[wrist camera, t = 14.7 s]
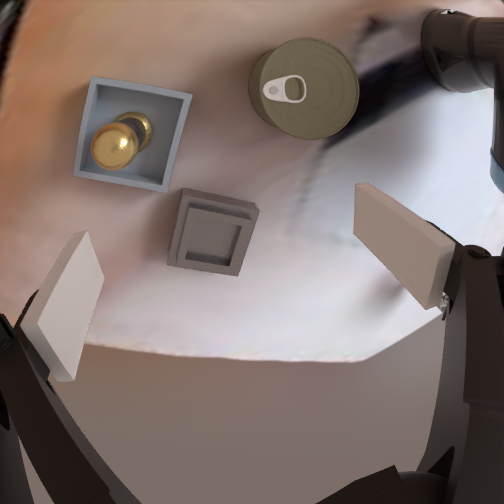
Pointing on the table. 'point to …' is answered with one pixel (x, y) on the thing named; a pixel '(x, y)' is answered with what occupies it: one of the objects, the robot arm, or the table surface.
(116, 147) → the strut
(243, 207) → the recessed square block
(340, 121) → the can
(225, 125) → the table surface
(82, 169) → the tray
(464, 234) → the table surface
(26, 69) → the table surface
